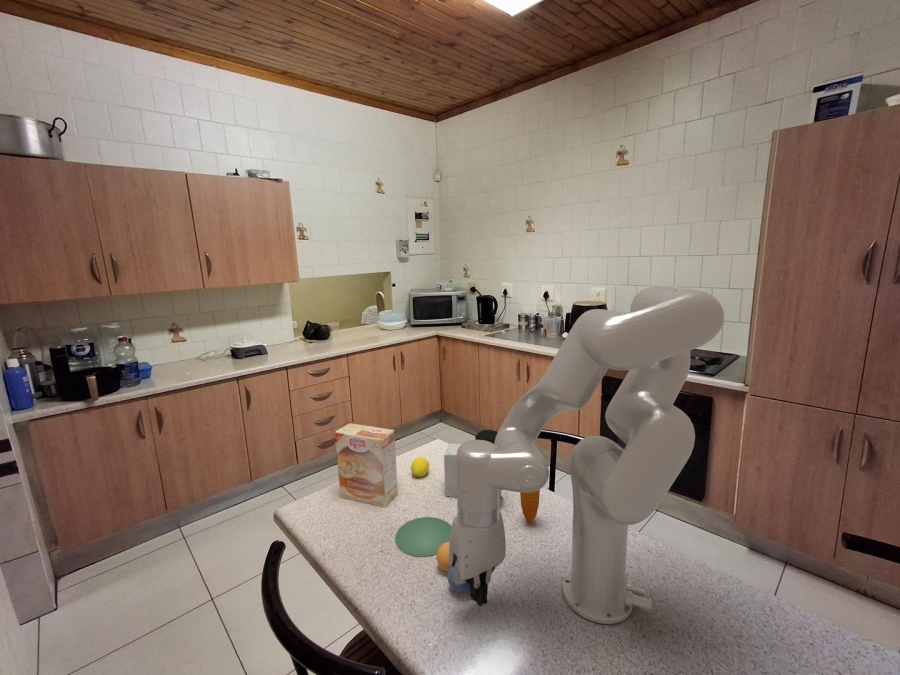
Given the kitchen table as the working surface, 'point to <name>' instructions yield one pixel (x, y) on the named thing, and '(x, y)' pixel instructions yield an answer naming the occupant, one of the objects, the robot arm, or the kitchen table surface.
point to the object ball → (443, 556)
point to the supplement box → (451, 470)
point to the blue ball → (460, 587)
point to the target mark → (423, 536)
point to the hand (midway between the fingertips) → (478, 599)
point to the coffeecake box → (367, 464)
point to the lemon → (420, 466)
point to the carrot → (530, 505)
